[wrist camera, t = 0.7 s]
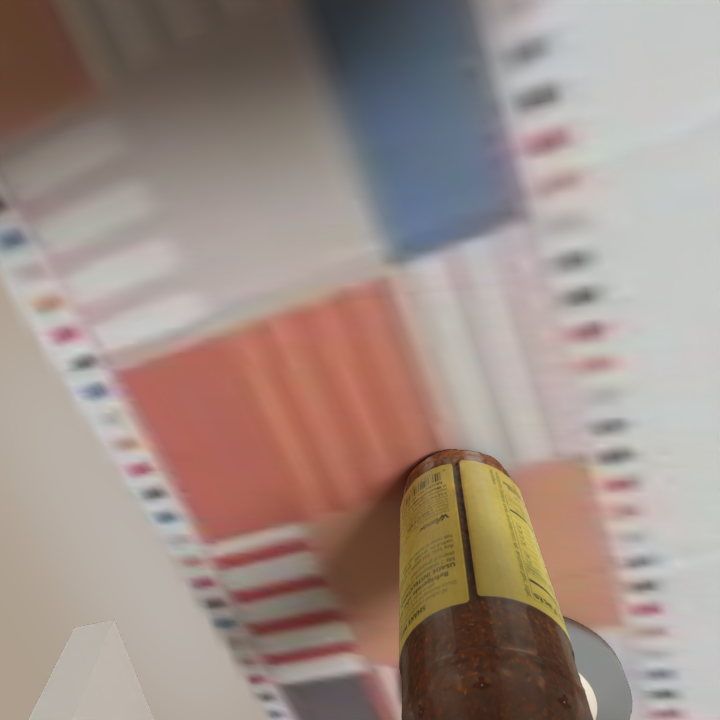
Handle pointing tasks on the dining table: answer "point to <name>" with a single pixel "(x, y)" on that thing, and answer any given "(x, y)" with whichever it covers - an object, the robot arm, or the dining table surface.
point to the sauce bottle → (478, 601)
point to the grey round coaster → (600, 674)
